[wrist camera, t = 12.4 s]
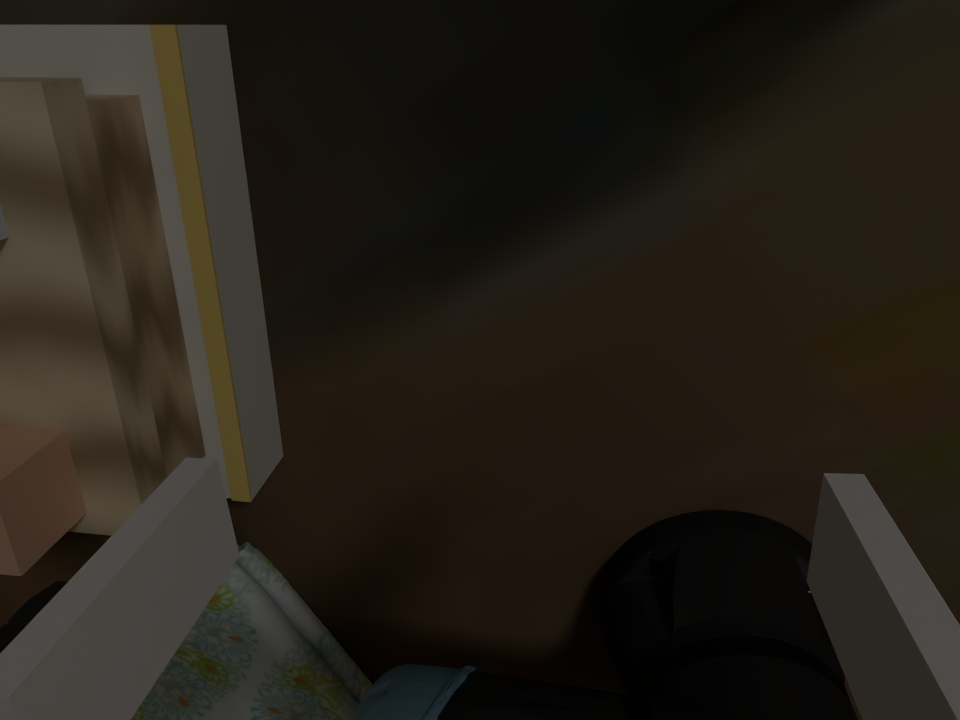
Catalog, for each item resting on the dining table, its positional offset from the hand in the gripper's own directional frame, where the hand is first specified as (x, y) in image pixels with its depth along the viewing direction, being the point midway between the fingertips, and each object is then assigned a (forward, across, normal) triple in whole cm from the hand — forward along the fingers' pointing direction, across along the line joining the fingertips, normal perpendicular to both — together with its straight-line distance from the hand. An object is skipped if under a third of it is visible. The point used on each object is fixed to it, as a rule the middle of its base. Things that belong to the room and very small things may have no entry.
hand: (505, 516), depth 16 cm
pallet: (+21, +25, +2) cm, 33 cm away
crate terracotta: (+15, +26, +9) cm, 31 cm away
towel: (+27, +25, +34) cm, 50 cm away
